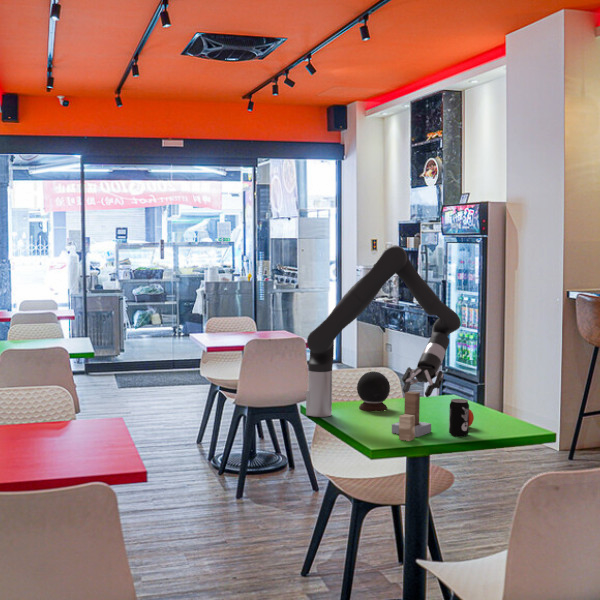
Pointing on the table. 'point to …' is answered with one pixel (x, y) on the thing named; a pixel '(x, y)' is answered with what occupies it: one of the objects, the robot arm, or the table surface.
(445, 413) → the table surface
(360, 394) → the dark ball
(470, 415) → the apple
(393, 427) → the socket block
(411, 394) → the walnut peg
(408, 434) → the birch peg
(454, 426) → the beverage can
